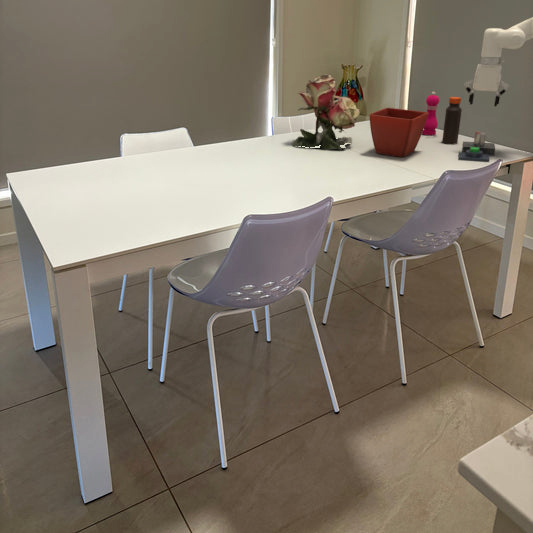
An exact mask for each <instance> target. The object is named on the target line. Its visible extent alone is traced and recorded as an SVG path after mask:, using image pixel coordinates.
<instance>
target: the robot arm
mask: <svg viewBox="0 0 533 533" xmlns="http://www.w3.org/2000/svg"><path fill="white" fill-rule="evenodd" d="M531 39H533V16H532V17H530V18H528V19H525V20H524V21H521V22H518V23H517V24H514V25H513V26H511V27H509V28H507V29H503V28H500V27H499V28H497V27H490V28H486V29H485V30H484V33H483V40H482V47H481V53H480V59H479V63H478V64H477V67H476V71H475V73H474V78H473V79H469V80H468V81H466V82H464V83H463V84H464V87H465V90H466V91H467V93H468V94H469V98H468V103H469V105H473V104H474V97H475V93H474V92H476V91H480V92H481V91H483V92H494V93H495V98H494V105H493V106H494V107H497V106H498V105H499V104H500V99H501V96H502V95H504V94H505V92H506V91H507V90H508V89H509V87H510V85H509V84H508V83H506V82H505V81H503V80H502V69H503V68H502V65H501V64H502V63H505V58H502V51H503V49H509V50H518V49H520V48H521V47H522V46H524V44H525V42H527V41H529V40H531ZM471 84H472V89H471V87H470V85H471ZM501 86H502V87H503V89H502V90H500V87H501Z"/></svg>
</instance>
